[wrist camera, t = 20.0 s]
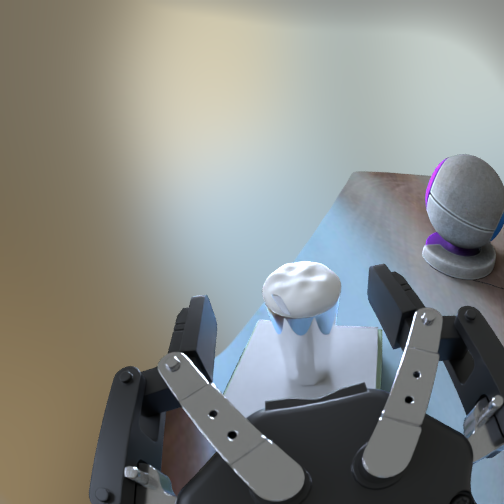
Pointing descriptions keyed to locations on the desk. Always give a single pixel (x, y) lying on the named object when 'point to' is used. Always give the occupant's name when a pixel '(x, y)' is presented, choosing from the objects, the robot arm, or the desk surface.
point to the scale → (276, 376)
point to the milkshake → (304, 317)
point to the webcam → (464, 216)
